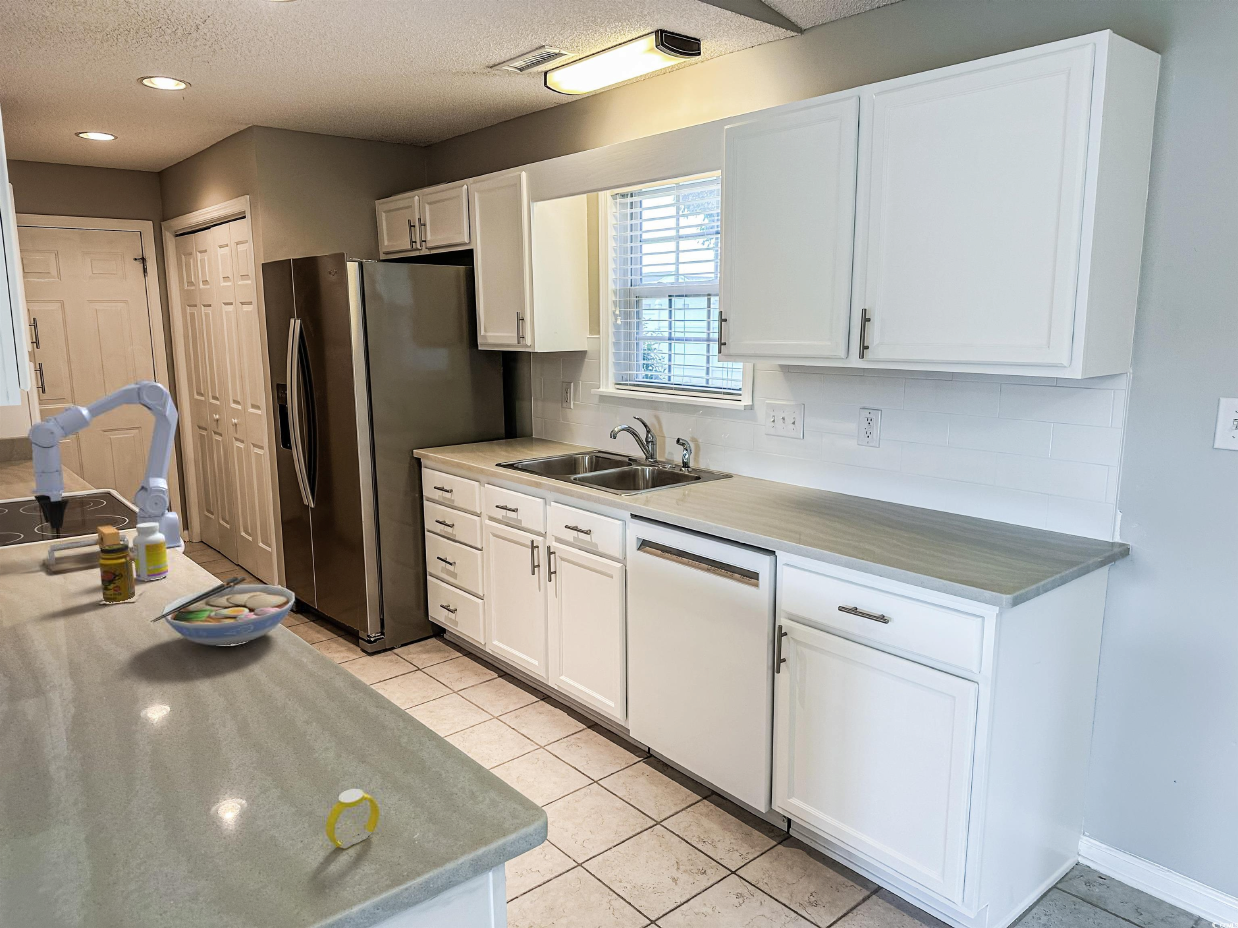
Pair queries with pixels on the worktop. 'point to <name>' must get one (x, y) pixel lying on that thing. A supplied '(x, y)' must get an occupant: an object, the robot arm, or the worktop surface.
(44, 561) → the walnut board
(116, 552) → the condiment
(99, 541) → the metal rod
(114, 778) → the worktop surface
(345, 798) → the watch
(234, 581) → the ramen bowl
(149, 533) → the supplement bottle
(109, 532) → the collar
